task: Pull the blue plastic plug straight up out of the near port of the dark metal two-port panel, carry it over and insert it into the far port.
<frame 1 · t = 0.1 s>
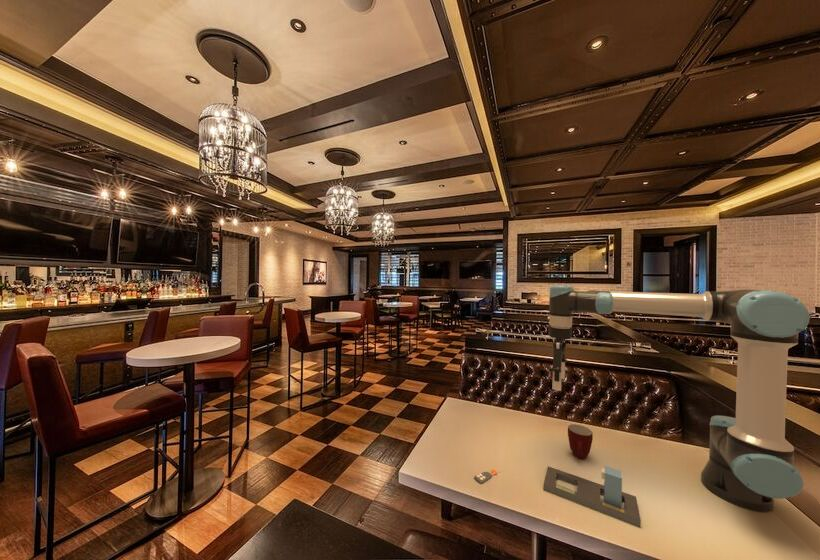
hand: (558, 383, 105), 28 cm above the table, fingers open, 13 cm apart
plug: (612, 505, 84), resting in panel
panel: (588, 496, 87), on the table
mug: (579, 458, 106), on the table
key chain: (490, 476, 96), on the table
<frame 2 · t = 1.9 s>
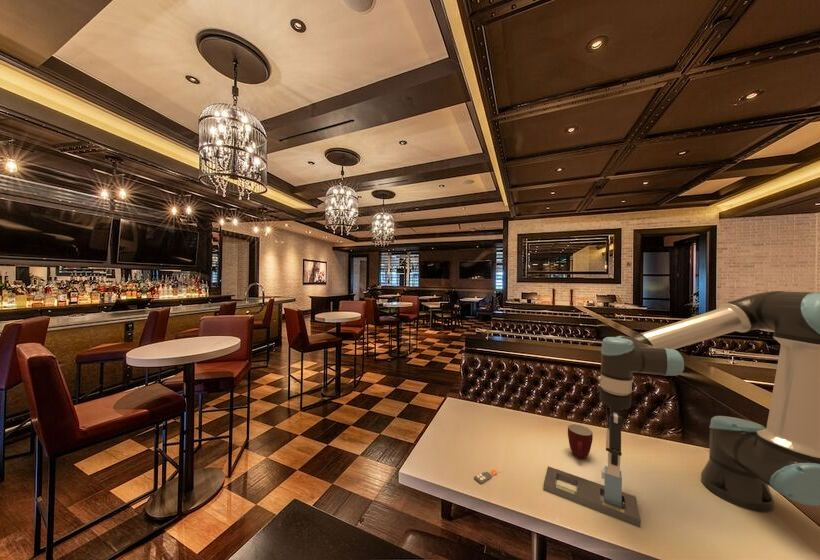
hand: (612, 461, 84), 13 cm above the table, fingers open, 13 cm apart
nothing on the table moved.
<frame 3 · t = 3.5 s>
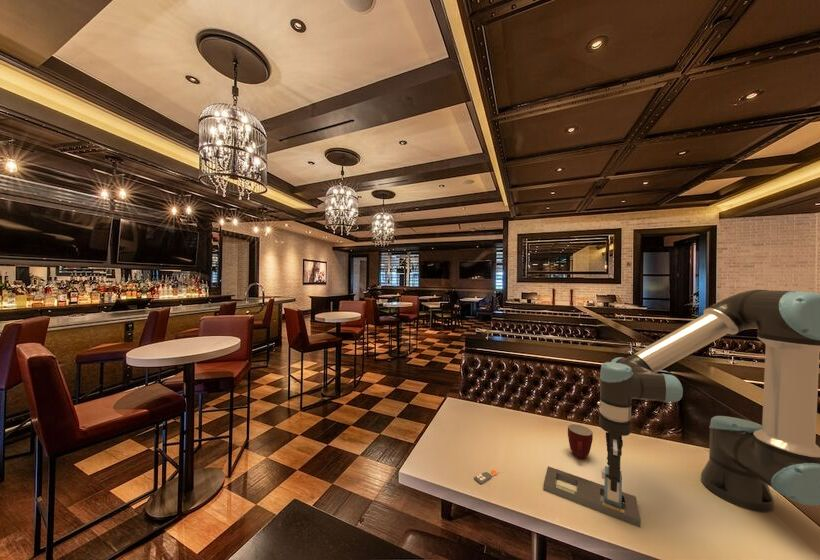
hand: (612, 494, 84), 3 cm above the table, fingers closed on plug, 4 cm apart
plug: (612, 505, 84), resting in panel, touching gripper
everything else where it was.
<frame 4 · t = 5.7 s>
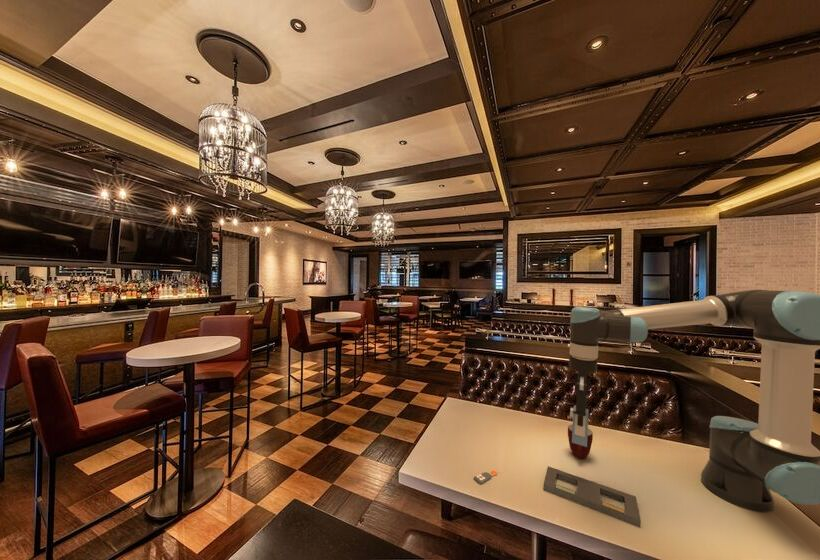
hand: (579, 431, 88), 19 cm above the table, fingers closed on plug, 4 cm apart
plug: (579, 441, 88), point 16 cm above the table, touching gripper
everything else where it was.
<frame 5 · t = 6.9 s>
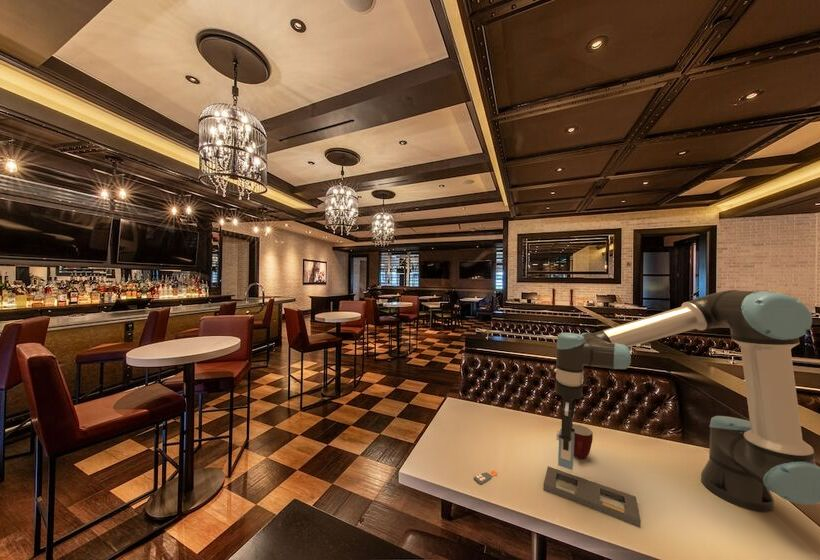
hand: (566, 454, 90), 11 cm above the table, fingers closed on plug, 4 cm apart
plug: (565, 464, 91), point 8 cm above the table, touching gripper
everything else where it was.
when the fingers open (4 cm above the table, at t = 8.1 s): plug drops 1 cm, resting in panel.
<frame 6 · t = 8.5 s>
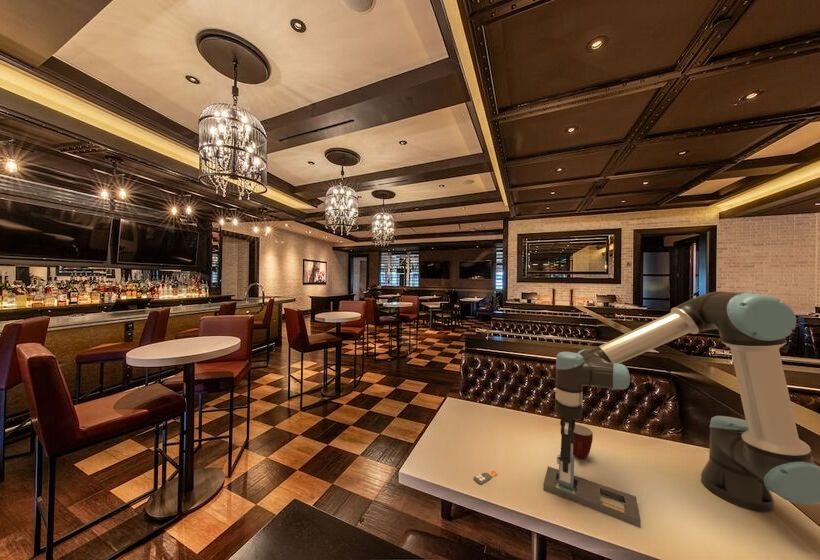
hand: (566, 471, 90), 5 cm above the table, fingers open, 10 cm apart
plug: (566, 488, 91), resting in panel
everything else where it was.
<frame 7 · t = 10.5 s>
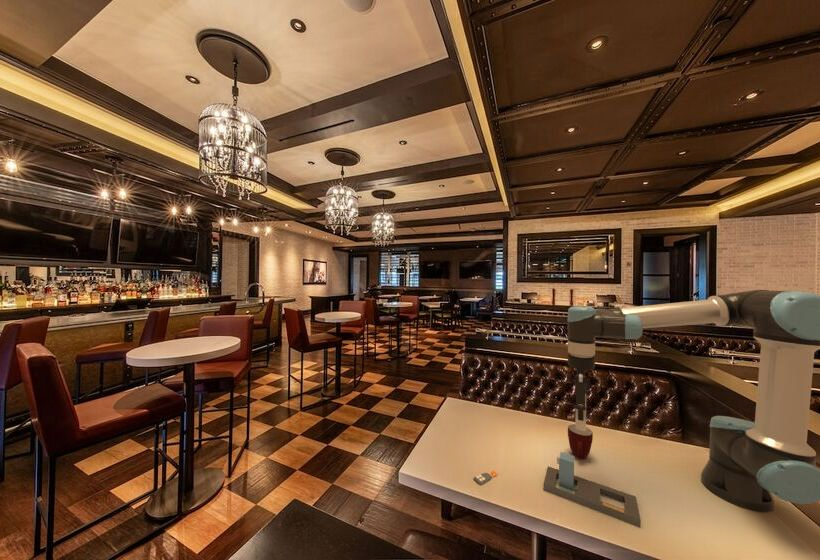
hand: (581, 420, 91), 21 cm above the table, fingers open, 13 cm apart
nothing on the table moved.
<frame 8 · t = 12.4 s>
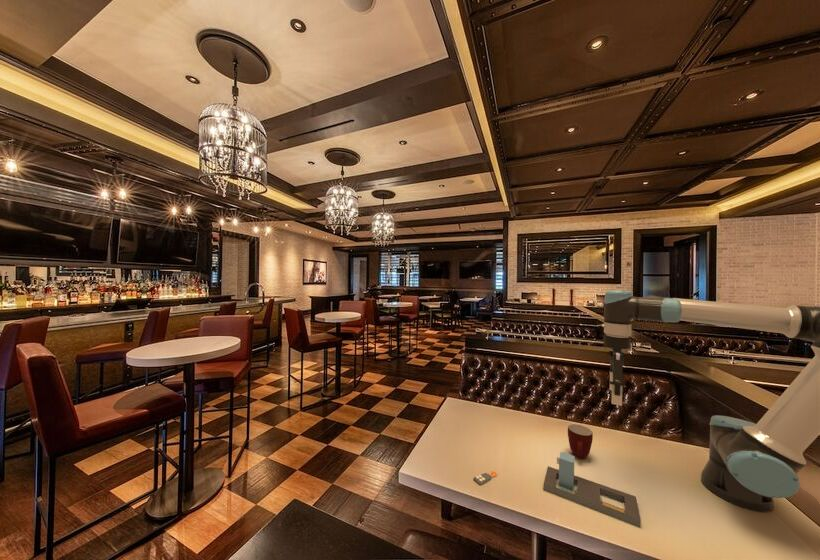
hand: (615, 397, 97), 27 cm above the table, fingers open, 13 cm apart
nothing on the table moved.
at the end: plug 0.0 cm from the target spot on the panel, point 0.0 cm above the panel's base; plug tilted 0°; the gripper is holding nothing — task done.
